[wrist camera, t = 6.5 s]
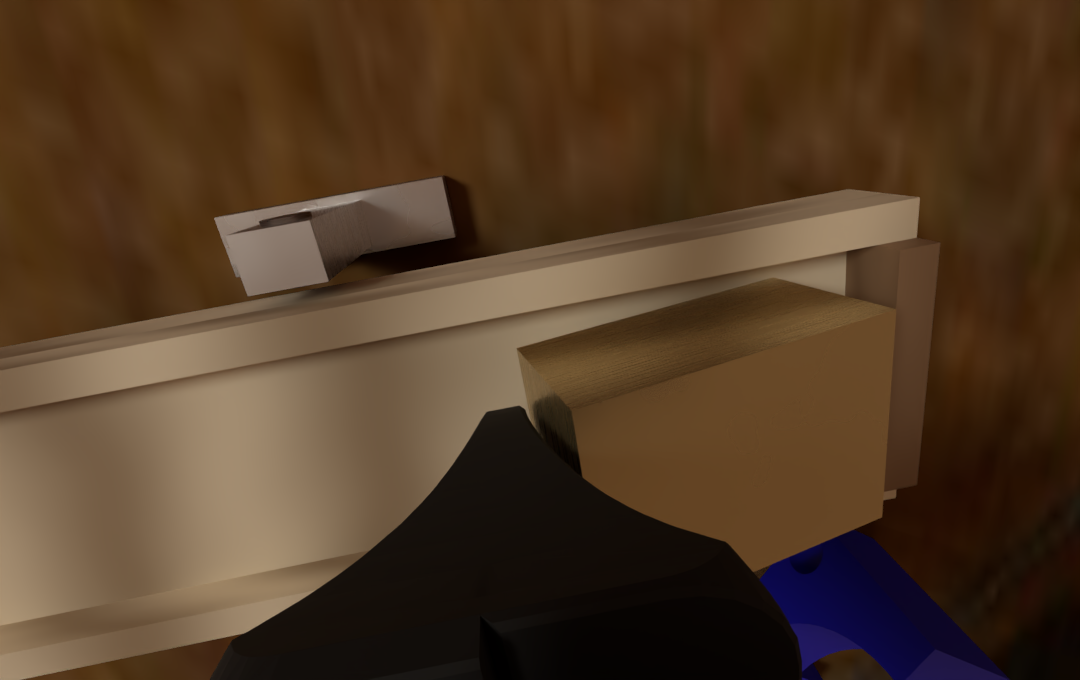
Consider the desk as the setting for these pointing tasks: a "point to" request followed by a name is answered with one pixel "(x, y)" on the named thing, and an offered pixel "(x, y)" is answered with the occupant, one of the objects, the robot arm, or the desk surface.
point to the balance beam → (351, 415)
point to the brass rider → (728, 413)
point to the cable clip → (870, 613)
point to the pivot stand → (332, 232)
